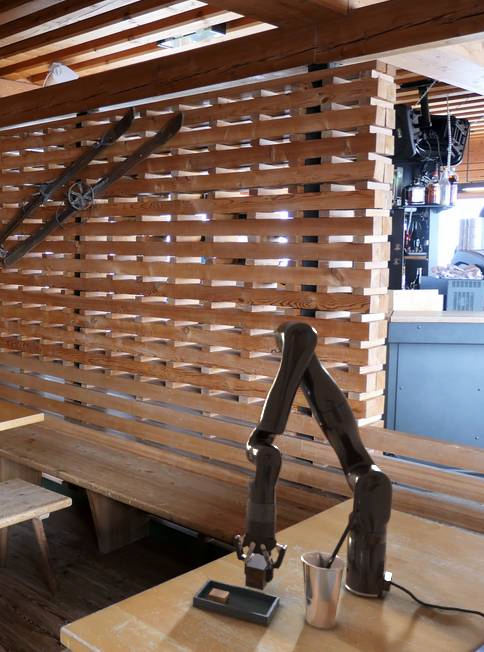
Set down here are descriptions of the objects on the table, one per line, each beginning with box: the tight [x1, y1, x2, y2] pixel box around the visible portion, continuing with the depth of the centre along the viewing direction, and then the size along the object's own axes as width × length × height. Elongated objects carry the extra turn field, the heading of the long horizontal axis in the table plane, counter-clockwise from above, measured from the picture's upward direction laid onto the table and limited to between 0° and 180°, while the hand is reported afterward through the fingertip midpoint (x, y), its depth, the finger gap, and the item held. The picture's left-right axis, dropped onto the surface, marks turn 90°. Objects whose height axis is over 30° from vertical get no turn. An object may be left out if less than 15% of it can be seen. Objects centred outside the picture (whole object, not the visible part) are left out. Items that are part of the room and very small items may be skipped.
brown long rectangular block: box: [244, 554, 268, 591], centre depth 196 cm, size 4×9×6 cm, turn 148°
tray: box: [192, 578, 281, 627], centre depth 185 cm, size 18×12×2 cm
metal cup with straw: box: [299, 509, 359, 630], centre depth 176 cm, size 11×11×30 cm
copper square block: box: [209, 588, 229, 604], centre depth 187 cm, size 4×4×2 cm
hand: (258, 578), depth 196 cm, fingers closed on brown long rectangular block, 4 cm apart
